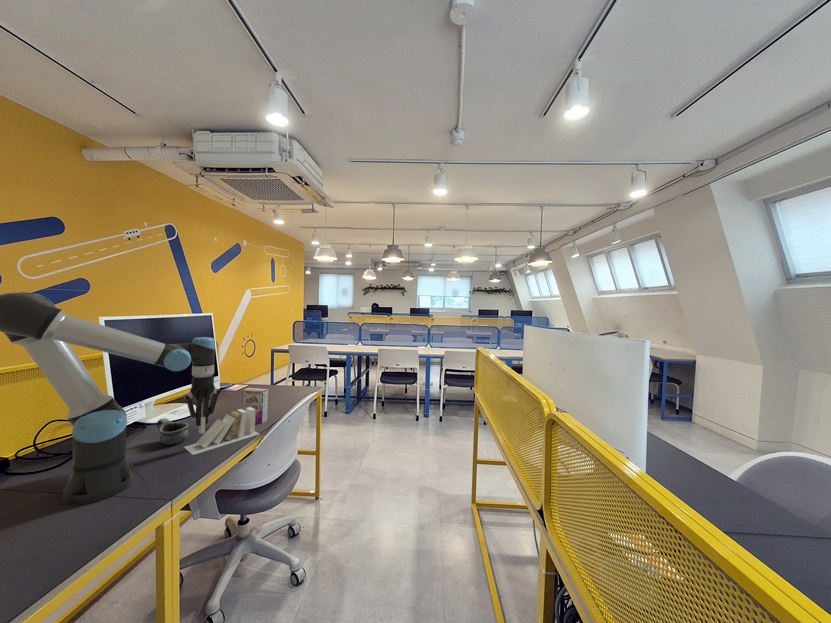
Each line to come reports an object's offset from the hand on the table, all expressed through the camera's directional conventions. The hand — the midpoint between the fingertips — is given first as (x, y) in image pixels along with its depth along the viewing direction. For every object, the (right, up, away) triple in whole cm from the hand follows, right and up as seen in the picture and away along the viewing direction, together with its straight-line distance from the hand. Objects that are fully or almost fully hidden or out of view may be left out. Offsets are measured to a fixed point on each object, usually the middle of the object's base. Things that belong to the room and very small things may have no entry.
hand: (201, 432), depth 126 cm
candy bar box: (+6, -6, +29) cm, 31 cm away
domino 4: (+11, -6, +16) cm, 20 cm away
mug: (-15, -6, +3) cm, 17 cm away
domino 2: (+3, -6, +4) cm, 7 cm away
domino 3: (+8, -6, +12) cm, 16 cm away
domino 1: (0, -5, 0) cm, 5 cm away
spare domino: (+5, -6, +8) cm, 11 cm away
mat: (+5, -7, +7) cm, 11 cm away
